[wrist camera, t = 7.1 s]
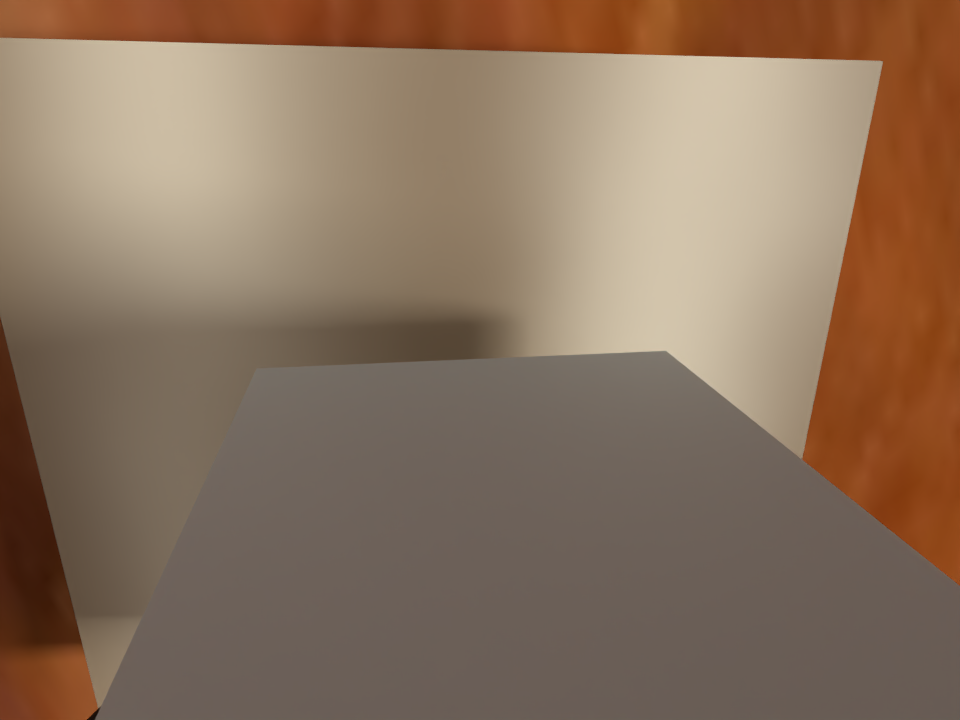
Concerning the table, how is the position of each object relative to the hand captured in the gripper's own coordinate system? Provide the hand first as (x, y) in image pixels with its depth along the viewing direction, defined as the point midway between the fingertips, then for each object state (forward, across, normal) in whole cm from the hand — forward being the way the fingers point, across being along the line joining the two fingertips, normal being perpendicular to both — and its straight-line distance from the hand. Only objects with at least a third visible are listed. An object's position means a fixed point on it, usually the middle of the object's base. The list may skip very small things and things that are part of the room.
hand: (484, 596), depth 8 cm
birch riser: (+7, 0, 0) cm, 7 cm away
